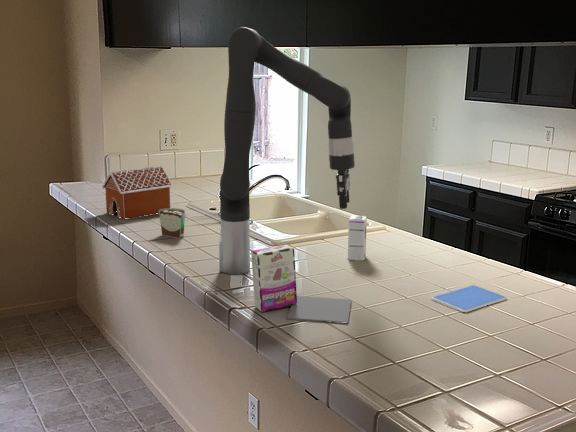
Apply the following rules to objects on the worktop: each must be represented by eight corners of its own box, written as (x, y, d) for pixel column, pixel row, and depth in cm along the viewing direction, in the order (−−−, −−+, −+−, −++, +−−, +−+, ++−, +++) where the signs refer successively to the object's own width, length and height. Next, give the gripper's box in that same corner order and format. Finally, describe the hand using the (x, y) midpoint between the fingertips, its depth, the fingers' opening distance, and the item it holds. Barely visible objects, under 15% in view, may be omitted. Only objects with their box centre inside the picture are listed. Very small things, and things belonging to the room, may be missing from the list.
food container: (193, 236, 241) (193, 210, 238) (183, 239, 236) (182, 213, 233) (170, 231, 247) (169, 206, 245) (159, 234, 242) (158, 209, 240)
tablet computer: (473, 288, 191) (473, 283, 191) (508, 300, 181) (508, 296, 181) (429, 301, 180) (430, 296, 180) (464, 315, 170) (465, 311, 170)
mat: (286, 319, 164) (287, 317, 164) (295, 297, 180) (295, 295, 180) (347, 323, 162) (347, 322, 162) (351, 301, 178) (351, 299, 177)
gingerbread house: (102, 213, 274) (99, 168, 269) (153, 204, 291) (152, 162, 287) (122, 221, 261) (120, 174, 256) (175, 212, 278) (174, 167, 273)
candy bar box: (289, 298, 177) (287, 243, 174) (297, 304, 173) (295, 247, 169) (253, 306, 172) (250, 249, 169) (260, 312, 168) (258, 254, 164)
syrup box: (364, 260, 214) (366, 219, 210) (347, 259, 215) (348, 218, 211) (365, 255, 219) (367, 215, 216) (348, 254, 220) (350, 214, 217)
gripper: (331, 150, 195) (334, 201, 199) (326, 156, 182) (329, 211, 185) (355, 149, 194) (358, 200, 197) (352, 155, 180) (355, 210, 183)
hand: (344, 205), depth 191 cm, fingers open, 8 cm apart
